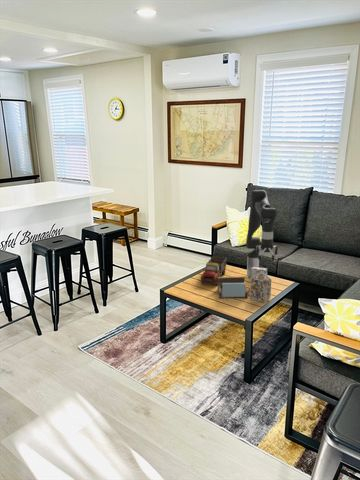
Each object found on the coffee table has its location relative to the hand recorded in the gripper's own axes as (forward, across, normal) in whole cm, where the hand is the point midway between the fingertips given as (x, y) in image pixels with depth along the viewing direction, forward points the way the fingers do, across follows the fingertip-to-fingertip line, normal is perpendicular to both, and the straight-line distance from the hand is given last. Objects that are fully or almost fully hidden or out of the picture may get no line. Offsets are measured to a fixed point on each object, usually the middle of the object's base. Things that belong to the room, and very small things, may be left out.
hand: (266, 260), depth 254 cm
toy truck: (+30, +32, -41) cm, 60 cm away
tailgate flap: (+27, +21, -3) cm, 35 cm away
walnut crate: (+29, +21, -11) cm, 38 cm away
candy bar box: (+30, 0, -20) cm, 36 cm away
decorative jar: (+30, +2, -3) cm, 30 cm away
